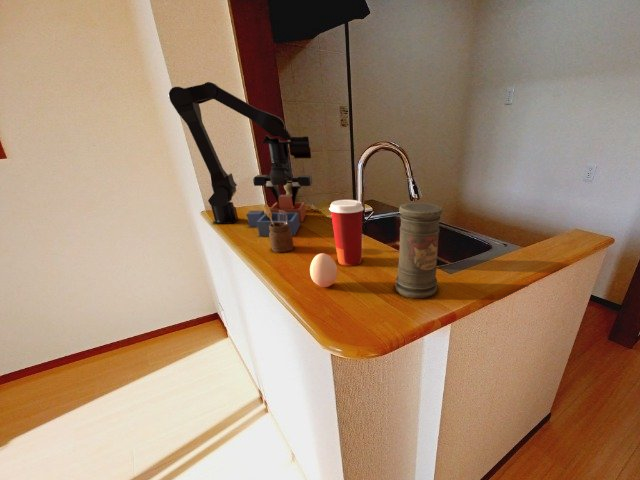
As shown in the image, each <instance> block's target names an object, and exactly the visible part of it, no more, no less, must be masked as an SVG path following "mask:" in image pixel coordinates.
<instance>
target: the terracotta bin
mask: <svg viewBox="0 0 640 480" xmlns="http://www.w3.org/2000/svg"><path fill="white" fill-rule="evenodd" d="M269 209H270V211H271V213H298V216H299V223H303V221H304V219H305V218H306V215H307V211H306V203H305V201H304V202H303V201H302V202H301V201H300V202H295V208H294V209H280V206H279V204H278V202H275V203H273V205H272V206H271V207H269ZM269 213H270V212H269Z"/></svg>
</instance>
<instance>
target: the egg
mask: <svg viewBox="0 0 640 480" xmlns="http://www.w3.org/2000/svg"><path fill="white" fill-rule="evenodd" d="M311 260H312V261H311V263H310V266H309V275H310V278H311V280H312V281H313V283H314V284H315V285H317V286H318V287H321V288H328V287H331V286H332V285H333V284H334V283H335V282H336V280H337V278H338V267H337V264H336V262H335V260H334V259H333V257H332V256H330V255H329V254H327V253H324V252H323V253H318V254H316V255H315V256H314V257H313V259H311Z"/></svg>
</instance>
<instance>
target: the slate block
mask: <svg viewBox="0 0 640 480" xmlns="http://www.w3.org/2000/svg"><path fill="white" fill-rule="evenodd" d="M264 214H265V210H249V211H248V212H247V213H246V218H247V222H248V227H249V228H258V226H257V221H258V220H259V219H260V218H261V217H262V216H263V215H264Z"/></svg>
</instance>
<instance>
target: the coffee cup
mask: <svg viewBox="0 0 640 480" xmlns="http://www.w3.org/2000/svg"><path fill="white" fill-rule="evenodd" d="M329 206H330V207H328V210H329V211H330V215H331V223H332V228H333V235H334V243H335V251H336V255H337V257H336V258H337V261H338V264H339V265H341V266H347V267H349V266H350V267H351V266H356V265H359V264H361V262H362V256H363V255H362V251H363V249H362V248H363V211H364V210H365V209H364V206H363V203H362V202H361V201H359V200H356V199H338V200H334V201H332V202H331V204H330V205H329Z"/></svg>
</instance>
